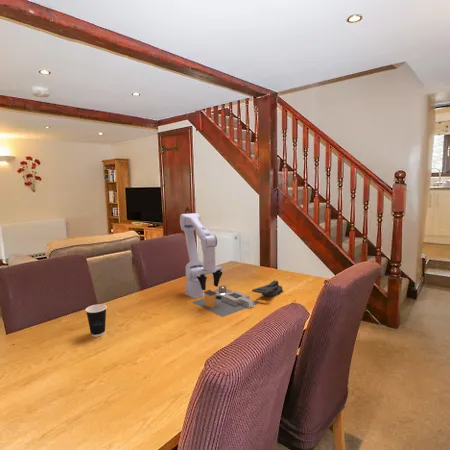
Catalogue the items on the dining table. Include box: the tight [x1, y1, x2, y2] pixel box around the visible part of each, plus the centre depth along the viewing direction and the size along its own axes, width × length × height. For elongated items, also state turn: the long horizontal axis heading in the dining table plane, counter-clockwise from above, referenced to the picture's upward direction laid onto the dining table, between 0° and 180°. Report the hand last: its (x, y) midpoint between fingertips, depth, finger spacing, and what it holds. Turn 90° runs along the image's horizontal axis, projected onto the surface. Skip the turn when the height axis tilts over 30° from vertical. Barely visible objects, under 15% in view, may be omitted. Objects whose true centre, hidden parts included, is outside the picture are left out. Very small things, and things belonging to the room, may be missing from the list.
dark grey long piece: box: [251, 279, 283, 298], centre depth 169 cm, size 9×7×25 cm
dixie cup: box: [84, 303, 108, 338], centre depth 129 cm, size 8×8×11 cm
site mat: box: [191, 296, 260, 318], centre depth 160 cm, size 24×24×1 cm
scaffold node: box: [212, 285, 254, 309], centre depth 163 cm, size 26×10×5 cm, turn 41°
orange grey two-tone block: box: [203, 289, 216, 308], centre depth 156 cm, size 5×3×7 cm, turn 41°
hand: (209, 287), depth 155 cm, fingers open, 7 cm apart
